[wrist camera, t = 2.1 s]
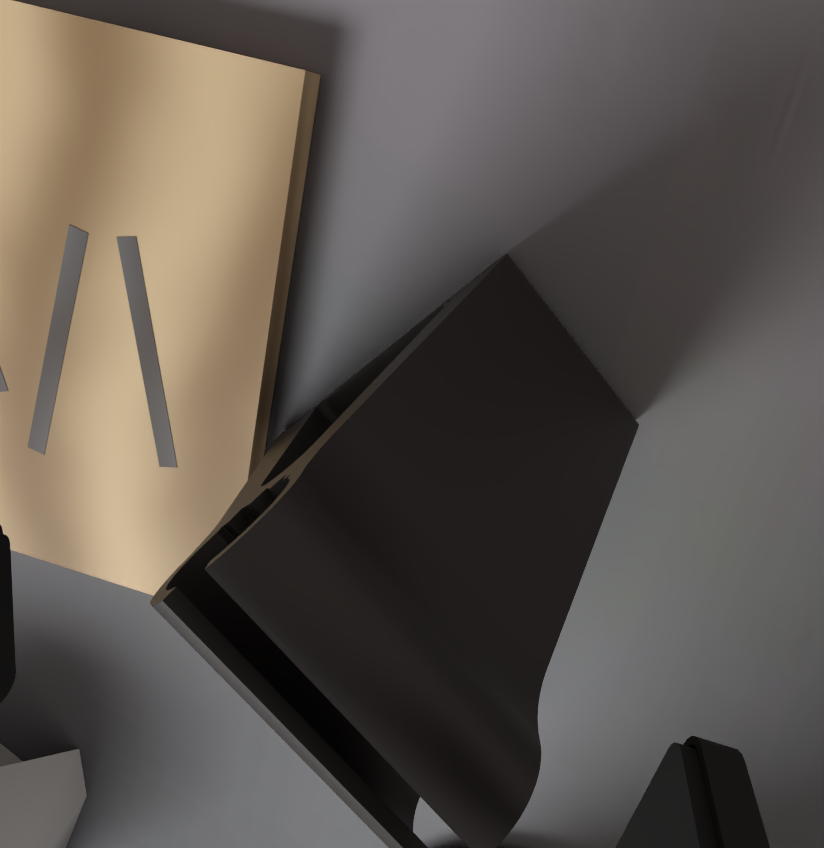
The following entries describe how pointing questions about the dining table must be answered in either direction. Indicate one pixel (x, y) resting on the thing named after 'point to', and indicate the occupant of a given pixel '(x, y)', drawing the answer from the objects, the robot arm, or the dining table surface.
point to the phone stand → (417, 562)
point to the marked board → (138, 284)
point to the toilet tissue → (40, 799)
